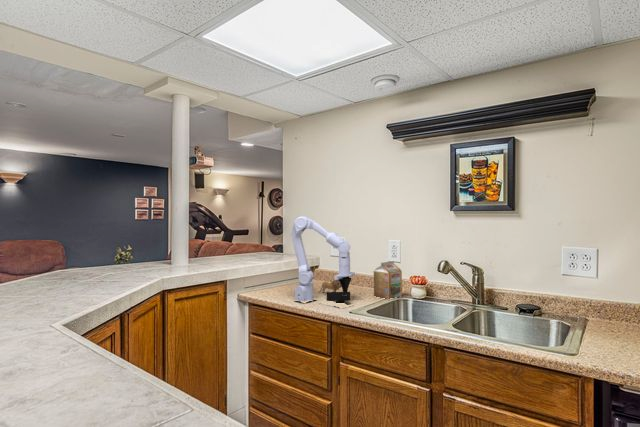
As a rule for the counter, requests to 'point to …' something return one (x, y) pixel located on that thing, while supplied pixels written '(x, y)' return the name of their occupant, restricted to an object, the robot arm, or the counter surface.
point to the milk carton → (388, 280)
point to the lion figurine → (331, 286)
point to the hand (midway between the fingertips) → (345, 291)
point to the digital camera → (338, 296)
